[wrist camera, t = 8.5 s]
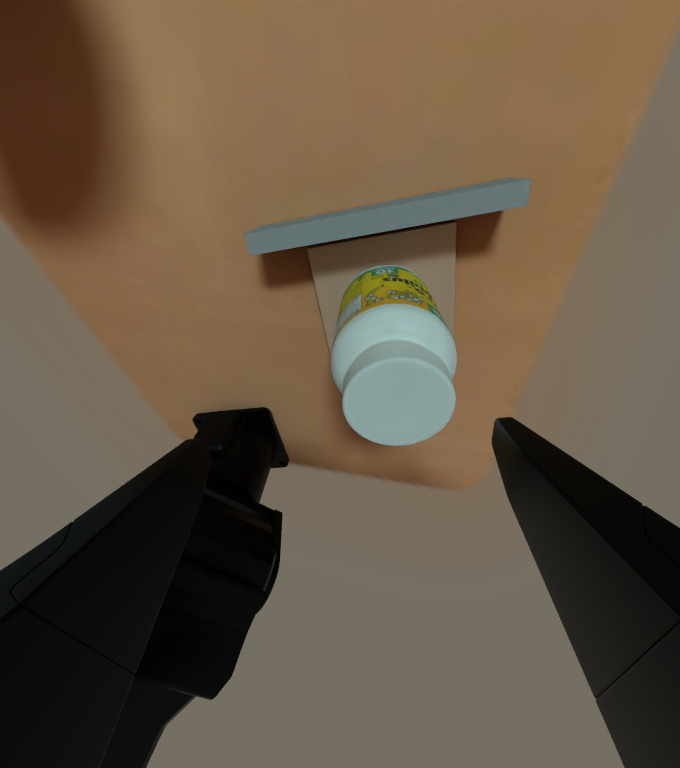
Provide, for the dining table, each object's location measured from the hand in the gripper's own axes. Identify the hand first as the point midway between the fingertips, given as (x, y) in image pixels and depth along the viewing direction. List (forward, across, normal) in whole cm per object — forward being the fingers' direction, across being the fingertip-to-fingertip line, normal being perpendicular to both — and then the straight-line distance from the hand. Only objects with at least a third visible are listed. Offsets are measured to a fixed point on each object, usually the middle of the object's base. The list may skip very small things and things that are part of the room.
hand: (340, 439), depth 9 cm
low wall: (+12, -2, -5) cm, 13 cm away
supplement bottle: (+12, -2, 0) cm, 12 cm away
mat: (+12, -2, 0) cm, 12 cm away
